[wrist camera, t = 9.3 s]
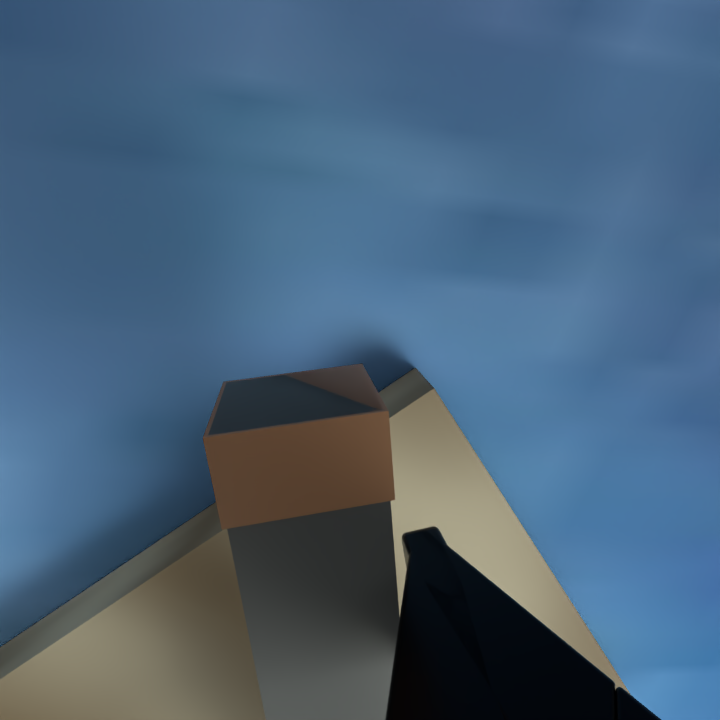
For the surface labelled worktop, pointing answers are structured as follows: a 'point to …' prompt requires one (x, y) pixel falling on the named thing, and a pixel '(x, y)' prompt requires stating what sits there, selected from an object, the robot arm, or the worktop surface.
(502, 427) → the worktop surface
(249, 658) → the stud base
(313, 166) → the worktop surface
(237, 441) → the grey elongated piece
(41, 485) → the worktop surface
